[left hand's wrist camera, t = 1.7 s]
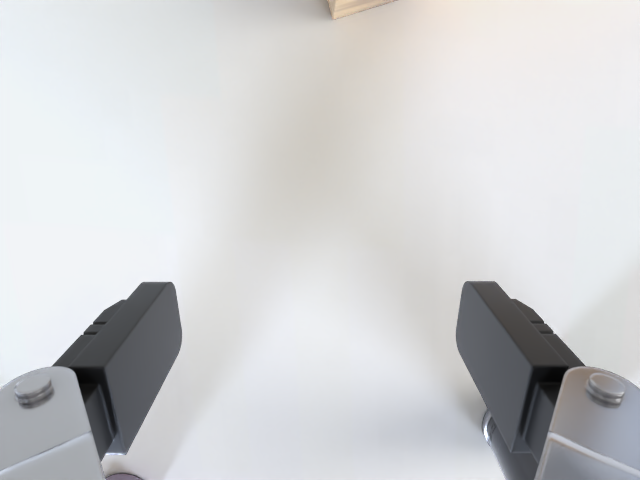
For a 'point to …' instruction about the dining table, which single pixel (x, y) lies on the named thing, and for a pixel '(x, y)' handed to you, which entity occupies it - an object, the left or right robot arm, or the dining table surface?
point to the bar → (352, 6)
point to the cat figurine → (122, 477)
